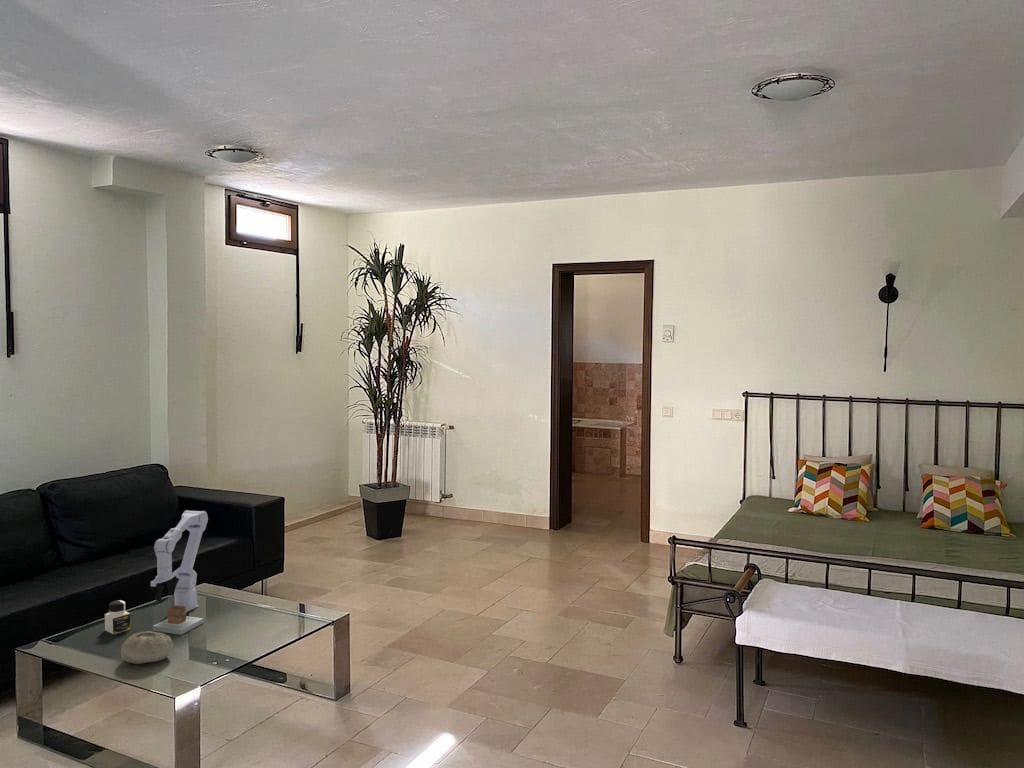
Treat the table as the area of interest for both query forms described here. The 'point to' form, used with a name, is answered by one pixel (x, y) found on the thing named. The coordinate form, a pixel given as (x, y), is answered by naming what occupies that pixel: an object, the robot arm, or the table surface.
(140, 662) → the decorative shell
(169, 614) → the walnut block
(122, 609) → the medicine bottle
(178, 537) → the robot arm
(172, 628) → the base board
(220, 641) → the table surface
